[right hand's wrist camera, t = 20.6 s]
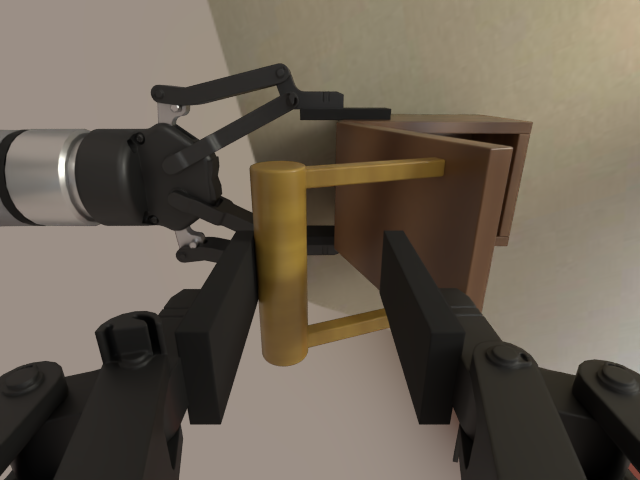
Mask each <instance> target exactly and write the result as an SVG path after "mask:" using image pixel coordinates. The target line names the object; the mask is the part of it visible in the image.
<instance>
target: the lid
mask: <svg viewBox="0 0 640 480" xmlns="http://www.w3.org/2000/svg"><path fill="white" fill-rule="evenodd" d="M512 151H513V147H511V146H504V145H498V144H491V143H485V142H478V141H472V140H465V139H459V138H452V137H446V136H439V135H433V134H426V133H420V132H413V131H407V130H400V129H394V128H387V127H381V126H374V125H367V124H361V123H354V122H337V123H336V164H330V165H316V166H305V165H304V164H302V163H298V162H292V161H267V162H260V163H256V164H253V165H251V166H250V181H251V196H252V210H253V225H254V240H255V254H256V269H257V284H258V298H259V313H260V327H261V342H262V354H263V357H264V358H265V360H266V361H267V362H269V363H270V364H273V365H276V366H291V365H294V364H297V363H299V362H300V361H302V360H303V359H304V358H305V357H306V355H307V353H308V348H309V347H313V346H317V345H321V344H325V343H329V342H334V341H338V340H342V339H346V338H350V337H354V336H358V335H362V334H366V333H370V332H374V331H378V330H382V329H386V328H390V326H389V322H388V319H387V316H386V312H385V309H384V308H383V309H379V310H374V311H370V312H365V313H361V314H357V315H352V316H348V317H343V318H339V319H335V320H330V321H325V322H321V323H317V324H312V325H308V302H307V219H306V189H308V188H319V187H330V186H335V235H334V249H335V250H336V251H337V252H338V253H340V254H341V255H342V256H343V257H344V258H345V259H346V260H347V261H348V262H349V263H350V264H352V265H353V266H354V267H355V268H356V269H357V270H358V271H359V272H360V273H361V274H362V275H364V276H365V277H366V278H367V279H368V280H369V281H370V282H371V283H372V284H373V285H374V286H376V287H377V288H378V289H379V290H380V277H381V263H382V248H383V233H384V230H403V231H404V233H405V234H406V236H407V237H408V239H409V241H410V242H411V244H412V246H413V247H414V249H415V250H416V252H417V254H418V255H419V257H420V259H421V260H422V262H423V264H424V265H425V267H426V268H427V270H428V272H429V273H430V275H431V277H432V278H433V280H434V281H435V283H436V285H437V286H438V288H457V289H459V290H460V291H462V292H463V293H465V294H466V295H468V296H469V297H470V298H471V300H472V301H473V302H474V304H475V305H476V308H478V309H479V311H480V312H481V313H482V308H483V302H484V297H485V292H486V287H487V282H488V276H489V271H490V266H491V261H492V256H493V250H494V245H495V240H496V235H497V230H498V224H499V219H500V214H501V209H502V203H503V198H504V193H505V188H506V183H507V177H508V172H509V167H510V162H511V157H512Z"/></svg>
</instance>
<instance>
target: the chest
mask: <svg viewBox="0 0 640 480" xmlns="http://www.w3.org/2000/svg"><path fill="white" fill-rule="evenodd" d="M339 122H354V123H361V124H367V125H374V126H381V127H387V128H394V129H400V130H407V131H413V132H420V133H426V134H433V135H439V136H446V137H452V138H459V139H465V140H472V141H478V142H485V143H491V144H498V145H504V146H511V147H513V151H512V157H511V162H510V167H509V172H508V177H507V183H506V188H505V193H504V198H503V203H502V209H501V214H500V219H499V224H498V230H497V235H496V240H495V245H494V246H507V245H508V240H509V237H508V236H509V235H510V230H511V225H512V220H513V215H514V210H515V205H516V201H517V196H518V191H519V186H520V181H521V176H522V171H523V167H524V162H525V157H526V152H527V147H528V142H529V137H530V133H531V129H532V124H533V122H529V121H521V120H514V119H507V118H500V117H492V116H485V115H400V114H391V119H390V120H339Z"/></svg>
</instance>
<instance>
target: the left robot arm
mask: <svg viewBox="0 0 640 480" xmlns="http://www.w3.org/2000/svg"><path fill="white" fill-rule="evenodd" d="M276 85H277V88H278V91H279V93H280V96H279V97H277V98H276V99H274V100H272V101H270V102H268V103H267V104H265V105H263V106H261V107H259V108H258V109H256V110H254V111H252V112H250V113H249V114H247V115H245V116H243V117H241V118H239V119H238V120H236V121H234V122H232V123H230V124H229V125H227V126H225V127H223V128H221V129H220V130H218V131H216V132H214V133H212V134H210V135H208V136H207V137H205V138H203V139H201V140H199V139H197V138H196V137H194V136H193V135H191V134H190V133H188V132H187V131H185V130H184V129H183V128H181V127H180V126H178V125H177V124H176V120H177V118H178V117H180V116H184V115H187V114H188V113H189V111H190V105H199V104H205V103H209V102H213V101H217V100H221V99H225V98H229V97H233V96H237V95H241V94H245V93H248V92H252V91H256V90H260V89H264V88H268V87H272V86H276ZM151 96H152V98H153V100H155V101H156V102H158V124H156V125H154V126H152V127H151V128H149V129H96V130H93V131H89V130H86V129H30V130H0V226H97V225H99V224H103V225H107V226H149V225H161V226H164V227H167V228H169V229H171V230H174V231H175V234H176V237H177V241H178V244H179V248H180V249H179V250H178V251H177V253H176V258H177V259H178V260H179V261H180V262H194V261H203V260H206V261H211V262H216V263H217V262H218V260H219V259H220V257H221V255H222V254H223V252H224V250H225V249H226V247H227V246H228V244H229V242H230V241H231V240H227V239H222V238H216V237H205V235H204V234H203V233H202V232H196V231H193V230H192V229H191V228H190V225H191V224H193V223H194V222H195V221H197V220H198V219H199V218H201V219H203V220H205V221H207V222H210V223H212V224H214V225H222V226H225V227H227V228H229V229H231V230H234V231H237V230H254V225H253V213H252V212H250V211H247V210H245V209H243V208H241V207H239V206H237V205H235V204H233V202H232V201H230V200H228V199H226V198H224V197H222V196H221V195H222V188H221V183H220V181H219V178H218V171H219V158H218V157H216V155H215V153H214V152H216V151H218V150H219V149H221V148H223V147H225V146H227V145H229V144H230V143H232V142H234V141H236V140H238V139H239V138H241V137H243V136H245V135H247V134H249V133H251V132H252V131H254V130H256V129H258V128H260V127H262V126H263V125H265V124H267V123H269V122H271V121H273V120H275V119H276V118H278V117H280V116H282V115H284V114H286V113H287V112H289V111H291V110H293V109H300V120H390V119H391V109H389V108H343V100H344V95H343V94H341V93H339V92H304V91H300V90H299V89H297V87H296V86H295V83H294V81H293V78H292V75H291V72H290V70H289V69H288V67H287V66H285V65H284V64H282V63H281V64H275V65H271V66H267V67H263V68H259V69H255V70H251V71H247V72H244V73H240V74H236V75H232V76H228V77H224V78H220V79H217V80H213V81H209V82H205V83H201V84H197V85H193V86H189V87H186V88H185V87H177V86H168V85H155V86H154V87H153V88H152V89H151ZM334 235H335V226H307V255H335V254H338V252H337V251H336V250H335V249H334Z"/></svg>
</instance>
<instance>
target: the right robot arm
mask: <svg viewBox="0 0 640 480" xmlns="http://www.w3.org/2000/svg"><path fill="white" fill-rule="evenodd" d="M380 296H381V299H382V302H383V306H384V309H385V312H386V316H387V319H388V322H389V326H390V329H391V332H392V336H393V339H394V342H395V346H396V349H397V352H398V356H399V359H400V362H401V365H402V369H403V372H404V375H405V379H406V382H407V385H408V389H409V392H410V395H411V399H412V402H413V405H414V409H415V412H416V415H417V419H418V422H419V424H450V420H451V414H452V409H453V408H454V410H455V413H456V415H457V417H458V420H459V422H460V424H459V429H458V435H457V440H456V445H455V451H454V456H453V462H458V458H459V462H460V471H461V480H638V479H637V478H636V477H635V476H634V475H633V474H632V473H631V471H630V470H629V469H628V467H629V465H630V463H632V465H633V466H634V467H635V468H636V469H637V471H638V472H639V473H640V374H638V373H637V372H635V371H633V370H631V369H628V368H626V367H625V366H623V365H620V364H617V363H614V362H609V361H603V360H595V359H594V360H587V361H584V362H583V363H581V364H580V365H579V367H578V370H577V373H576V375H571V374H566V373H561V372H557V371H552V370H547V369H544V368H540V367H538V365H537V363H536V361H535V360H534V359H533V357H532V356H531V355H530V354H528V353H527V352H526V351H524V350H523V349H522V348H519V347H517V346H515V345H513V344H511V343H507V342H502V340H501V339H500V338H499V336H498V335H497V334H496V332H495V331H494V329H493V328H492V327H491V325H490V324H489V323H488V321H487V320H486V319H485V317H484V316H482V313H481V312H480V311H479V309H478V308H476V305H475V304H474V302H473V301H472V300H471V298H470V297H469V296H468V295H466V294H465V293H463V292H462V291H460V290H459V289H457V288H438V286H437V285H436V283H435V281H434V280H433V278H432V277H431V275H430V273H429V272H428V270H427V268H426V267H425V265H424V264H423V262H422V260H421V259H420V257H419V255H418V254H417V252H416V250H415V249H414V247H413V246H412V244H411V242H410V241H409V239H408V237H407V236H406V234H405V233H404V231H403V230H384V233H383V248H382V263H381V277H380ZM258 299H259V298H258V284H257V269H256V254H255V240H254V230H237V231H236V233H235V234H234V236H233V238H232V239H231V241H230V242H229V244H228V246H227V247H226V249H225V250H224V252H223V254H222V255H221V257H220V259H219V260H218V262H217V264H216V265H215V267H214V268H213V270H212V272H211V273H210V275H209V277H208V278H207V280H206V281H205V283H204V285H203V286H202V288H201V289H183V290H182V291H180V292H179V293H177V294H176V295H174V296H173V297H171V298H170V300H169V301H168V303H167V304H166V305H165V307H164V309H163V310H162V311H161V312H160V313H159V315H157V314H156V313H153V312H148V311H135V312H130V313H125V314H122V315H119V316H117V317H114V318H112V319H110V320H108V321H107V322H105V323H103V324H102V325H101V326H100V327H99V328H98V329H97V330H96V331H95V335H96V339H97V342H98V346H99V350H100V353H101V357H102V361H103V365H102V368H101V369H99V370H95V371H91V372H86V373H81V374H77V375H72V376H67V377H65V376H64V373H63V370H62V367H61V366H60V365H58V364H57V363H56V362H49V361H42V362H34V363H30V364H26V365H23V366H20V367H17V368H15V369H13V370H11V371H9V372H7V373H5V374H3V375H2V376H1V377H0V476H1V474H2V473H3V472H4V471H5V470H6V468H7V467H8V466H9V465H11V467H12V471H11V472H10V474H9V475H8V476H7V477H6V478H5V479H4V480H179V473H180V463H181V453H182V444H183V435H182V429H181V422H182V419H183V417H184V414H185V412H186V410H187V409H188V414H189V420H190V424H221V422H222V419H223V415H224V412H225V409H226V405H227V402H228V399H229V395H230V392H231V389H232V385H233V382H234V379H235V375H236V372H237V369H238V365H239V362H240V359H241V355H242V352H243V349H244V346H245V342H246V339H247V336H248V332H249V329H250V326H251V322H252V319H253V316H254V312H255V309H256V306H257V302H258Z"/></svg>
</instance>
